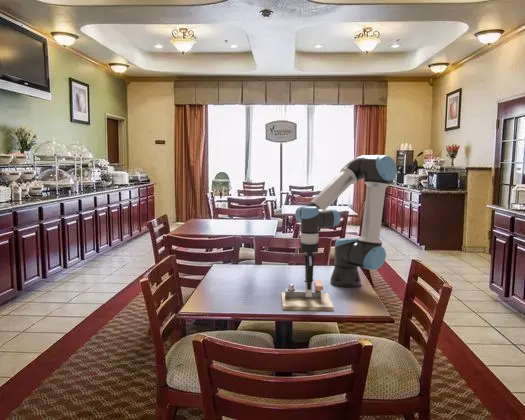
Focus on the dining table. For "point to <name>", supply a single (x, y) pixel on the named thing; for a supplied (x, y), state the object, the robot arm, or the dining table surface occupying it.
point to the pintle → (291, 288)
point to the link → (301, 294)
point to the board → (307, 303)
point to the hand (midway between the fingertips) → (308, 296)
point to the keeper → (318, 285)
